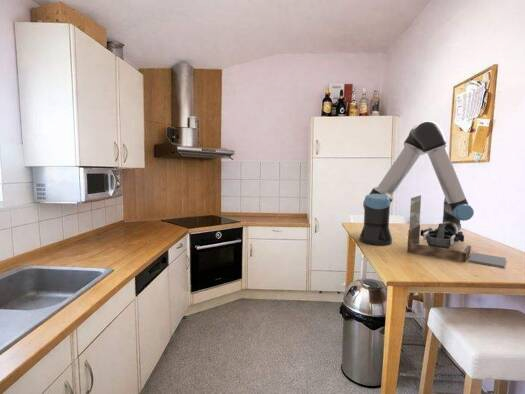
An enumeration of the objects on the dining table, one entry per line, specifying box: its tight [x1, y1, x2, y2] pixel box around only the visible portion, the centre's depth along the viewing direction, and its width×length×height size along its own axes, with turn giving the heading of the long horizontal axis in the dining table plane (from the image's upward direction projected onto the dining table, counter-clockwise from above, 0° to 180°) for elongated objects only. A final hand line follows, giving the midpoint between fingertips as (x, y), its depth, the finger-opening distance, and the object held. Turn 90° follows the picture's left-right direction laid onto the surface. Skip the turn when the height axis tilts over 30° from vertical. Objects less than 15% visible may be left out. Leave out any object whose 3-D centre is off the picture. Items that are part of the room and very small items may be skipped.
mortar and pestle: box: [426, 222, 452, 249], centre depth 129 cm, size 11×9×12 cm
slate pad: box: [468, 252, 506, 269], centre depth 119 cm, size 11×13×1 cm
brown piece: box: [407, 195, 472, 263], centre depth 128 cm, size 21×15×24 cm
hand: (437, 239), depth 126 cm, fingers closed on mortar and pestle, 9 cm apart
